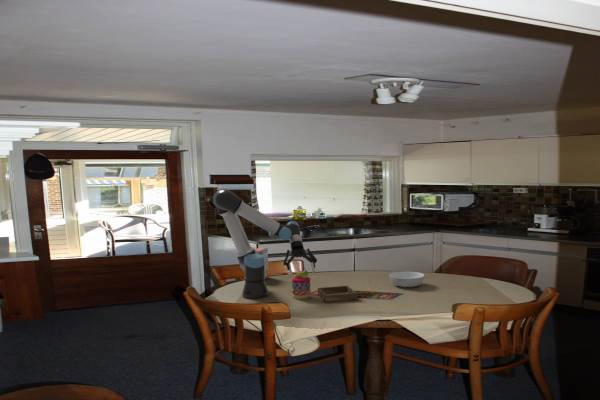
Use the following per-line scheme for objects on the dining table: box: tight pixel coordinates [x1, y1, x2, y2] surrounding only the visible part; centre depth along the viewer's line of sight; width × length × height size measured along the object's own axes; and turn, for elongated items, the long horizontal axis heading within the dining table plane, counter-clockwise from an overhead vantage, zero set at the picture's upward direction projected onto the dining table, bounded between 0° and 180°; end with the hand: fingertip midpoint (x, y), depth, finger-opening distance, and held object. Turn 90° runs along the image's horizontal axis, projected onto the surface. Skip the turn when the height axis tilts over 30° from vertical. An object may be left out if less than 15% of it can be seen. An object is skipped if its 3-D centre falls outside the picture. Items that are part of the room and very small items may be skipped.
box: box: [317, 285, 359, 304], centre depth 261 cm, size 18×18×4 cm
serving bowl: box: [388, 271, 426, 288], centre depth 283 cm, size 21×21×7 cm
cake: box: [291, 269, 312, 301], centre depth 264 cm, size 10×11×15 cm
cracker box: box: [254, 246, 270, 280], centre depth 311 cm, size 14×6×21 cm, turn 160°
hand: (302, 273), depth 270 cm, fingers open, 13 cm apart
